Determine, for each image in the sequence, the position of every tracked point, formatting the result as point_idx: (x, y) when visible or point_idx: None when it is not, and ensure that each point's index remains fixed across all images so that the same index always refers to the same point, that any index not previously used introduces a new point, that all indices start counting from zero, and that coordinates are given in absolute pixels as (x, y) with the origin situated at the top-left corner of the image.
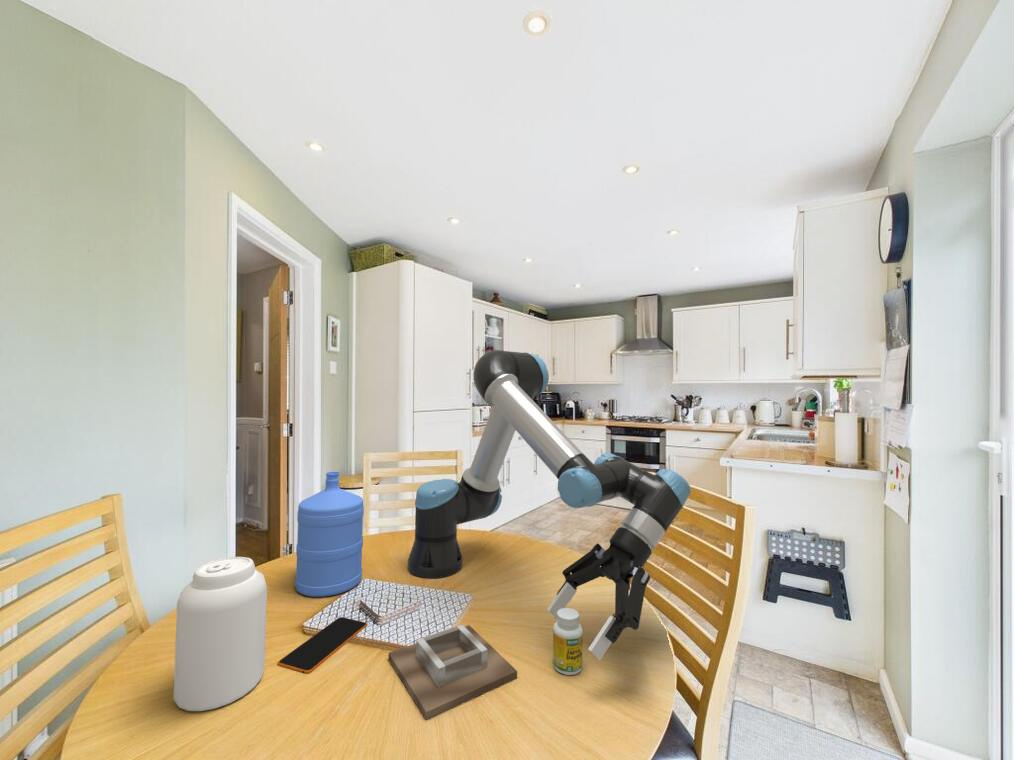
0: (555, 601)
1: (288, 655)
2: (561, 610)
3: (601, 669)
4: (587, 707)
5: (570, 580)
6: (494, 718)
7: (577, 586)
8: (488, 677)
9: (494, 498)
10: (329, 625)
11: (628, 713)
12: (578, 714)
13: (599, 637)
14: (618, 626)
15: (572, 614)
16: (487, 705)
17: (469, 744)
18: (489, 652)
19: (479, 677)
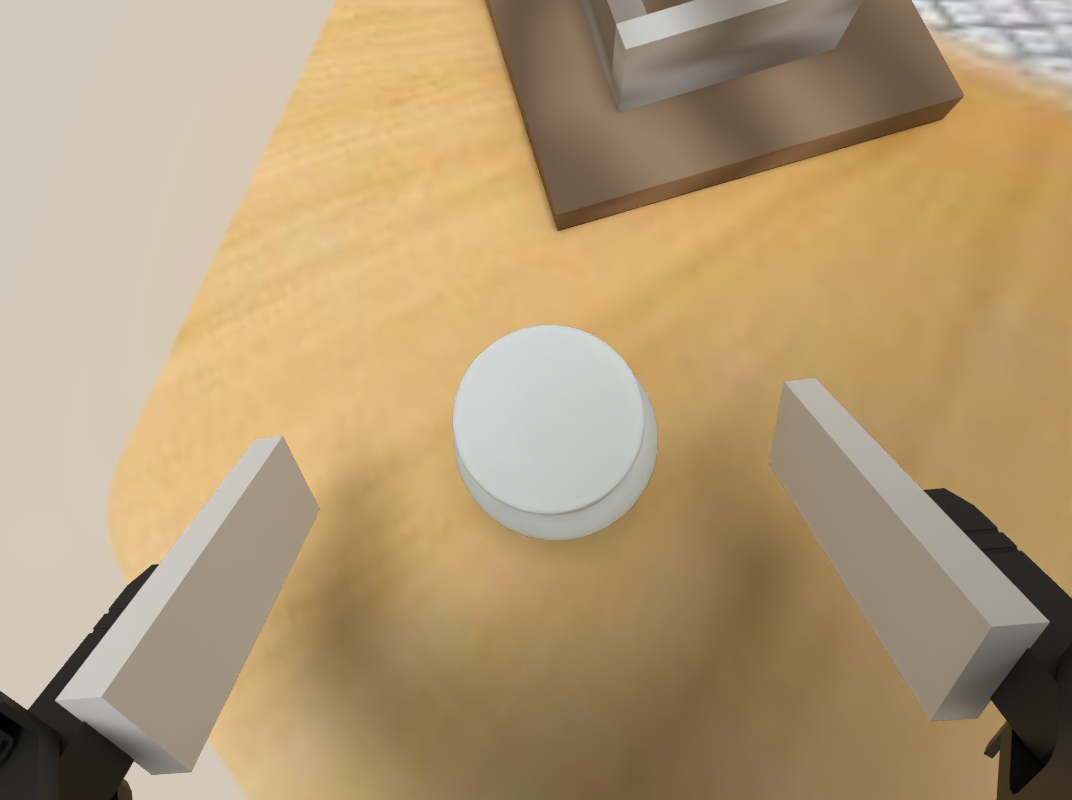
0: (833, 435)
1: None
2: (609, 382)
3: (494, 605)
4: (326, 421)
5: (1067, 690)
6: (402, 113)
7: (998, 773)
8: (554, 104)
9: None
10: None
11: None
12: (311, 373)
13: (202, 510)
14: (50, 694)
15: (520, 446)
16: (462, 104)
17: (342, 34)
18: (710, 139)
19: (565, 76)
